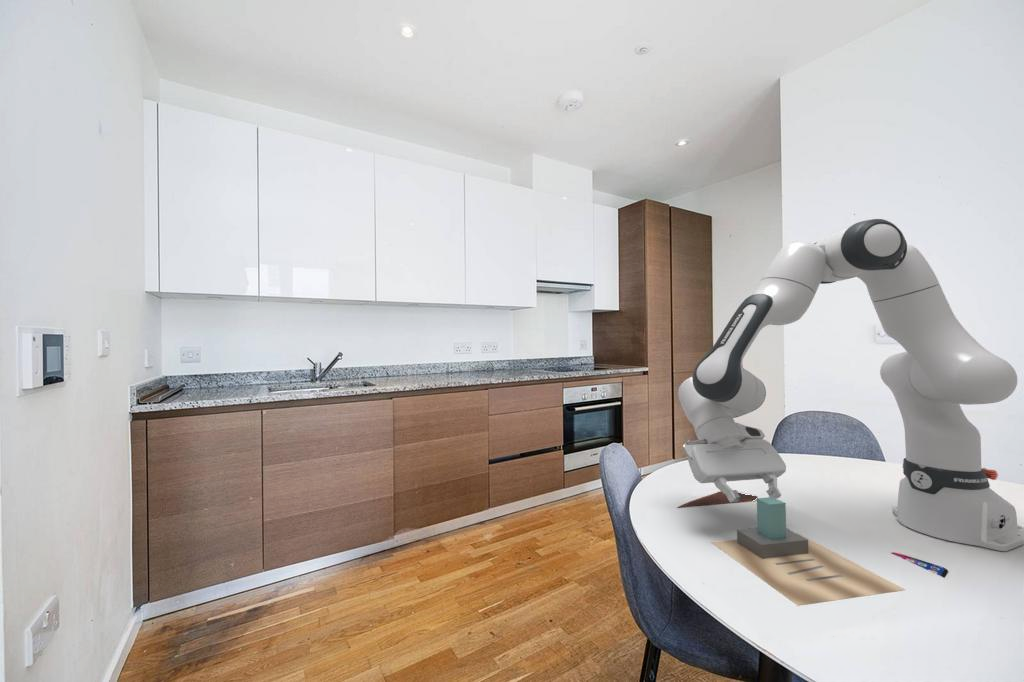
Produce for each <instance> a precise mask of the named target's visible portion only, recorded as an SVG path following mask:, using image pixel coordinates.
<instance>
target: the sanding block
mask: <svg viewBox="0 0 1024 682" xmlns="http://www.w3.org/2000/svg"><path fill="white" fill-rule="evenodd" d="M786 504H787V503H786V502H784V501H783V500H781V499H779V498H773V497H769V496H768V497H767V496H766V497H758V498H757V500H756V516H757V517H756V520H757V521H756V523H757V524H756V525H757V527H753V528H752V527H751V528H743V529H740V528H739V529H736V538H737V539H736V540H737V543H739V544H740V545H742V546H743V547H745V548H746V549H748V550H749V551H751V552H752V553H754V554H755V555H757V556H759V557H760V558H762V559H764V558H772V557H781V556H789V555H798V554H806V553H808V539H809V538H808V539H806V538H807V537H806V538H804V537H805V536H804V537H802V536H803V535H802V536H800V535H801V534H800V535H798V534H799V533H798V534H796V533H797V532H794V531H792V530H790V528H787V512H786V511H787V508H786V507H787V505H786Z"/></svg>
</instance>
